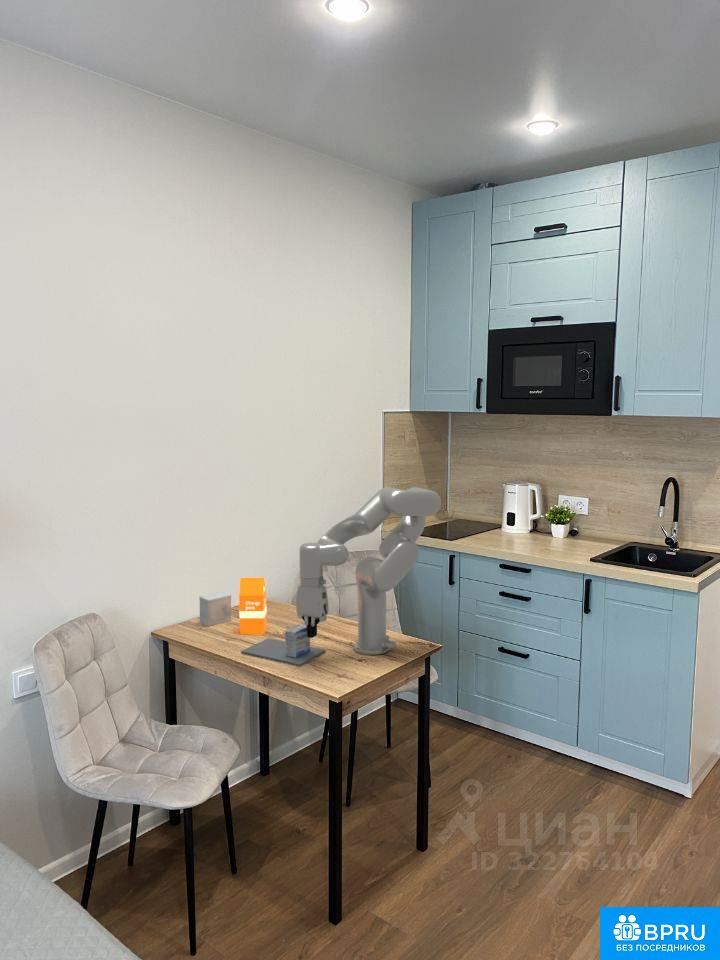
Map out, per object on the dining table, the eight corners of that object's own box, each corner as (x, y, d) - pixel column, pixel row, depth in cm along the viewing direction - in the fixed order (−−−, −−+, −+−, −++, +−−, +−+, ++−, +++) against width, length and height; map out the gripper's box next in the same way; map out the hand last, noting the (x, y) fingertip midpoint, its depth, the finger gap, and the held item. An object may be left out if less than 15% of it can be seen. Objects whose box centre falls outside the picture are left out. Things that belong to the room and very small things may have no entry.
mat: (325, 652, 242) (325, 649, 242) (300, 666, 229) (300, 664, 229) (268, 640, 254) (268, 637, 254) (241, 653, 241) (241, 651, 241)
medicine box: (295, 658, 234) (295, 632, 233) (285, 655, 236) (284, 630, 235) (310, 651, 240) (310, 626, 239) (300, 648, 243) (299, 623, 242)
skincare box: (208, 627, 268) (207, 599, 267) (199, 623, 273) (198, 596, 272) (232, 621, 276) (231, 594, 274) (222, 617, 280) (222, 591, 279)
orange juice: (243, 627, 268) (242, 574, 266) (267, 627, 268) (265, 574, 266) (239, 634, 260) (238, 580, 258) (264, 634, 260) (263, 580, 258)
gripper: (337, 581, 232) (337, 637, 234) (299, 576, 239) (299, 629, 241) (324, 587, 225) (325, 643, 228) (285, 581, 233) (286, 636, 235)
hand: (311, 636), depth 235 cm, fingers closed
